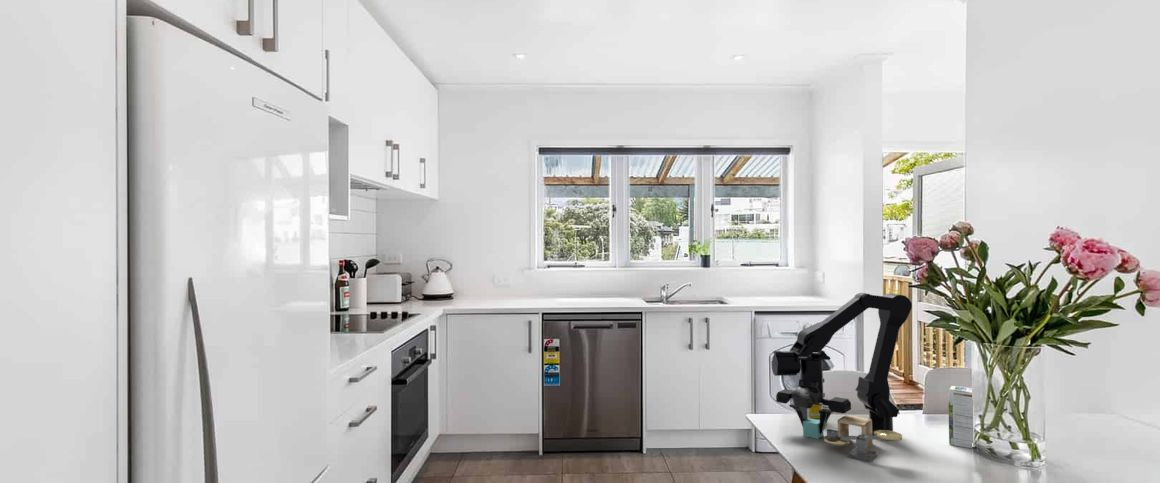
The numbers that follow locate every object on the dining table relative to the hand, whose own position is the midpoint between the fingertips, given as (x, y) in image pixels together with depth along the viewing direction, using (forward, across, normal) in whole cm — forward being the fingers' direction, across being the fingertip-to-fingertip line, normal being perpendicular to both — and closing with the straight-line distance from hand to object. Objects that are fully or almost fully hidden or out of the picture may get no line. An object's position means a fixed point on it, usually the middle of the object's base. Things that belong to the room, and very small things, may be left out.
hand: (813, 431), depth 154 cm
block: (+1, 0, 0) cm, 1 cm away
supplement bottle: (+1, -6, +15) cm, 16 cm away
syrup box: (+1, +32, +18) cm, 37 cm away
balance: (+1, +15, -8) cm, 17 cm away
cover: (+1, +11, 0) cm, 11 cm away
